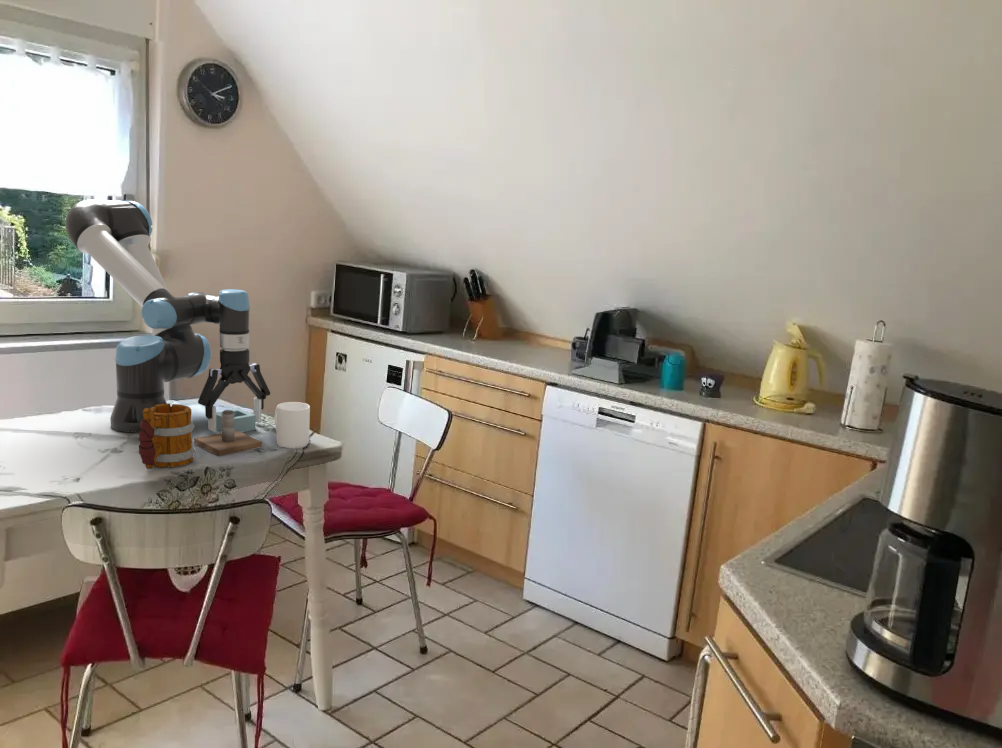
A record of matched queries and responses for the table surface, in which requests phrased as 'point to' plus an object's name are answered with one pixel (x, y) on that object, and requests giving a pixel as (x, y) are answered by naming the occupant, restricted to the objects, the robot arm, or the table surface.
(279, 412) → the cup
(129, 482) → the table surface
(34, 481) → the table surface
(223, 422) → the post block
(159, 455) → the mug
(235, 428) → the ring
